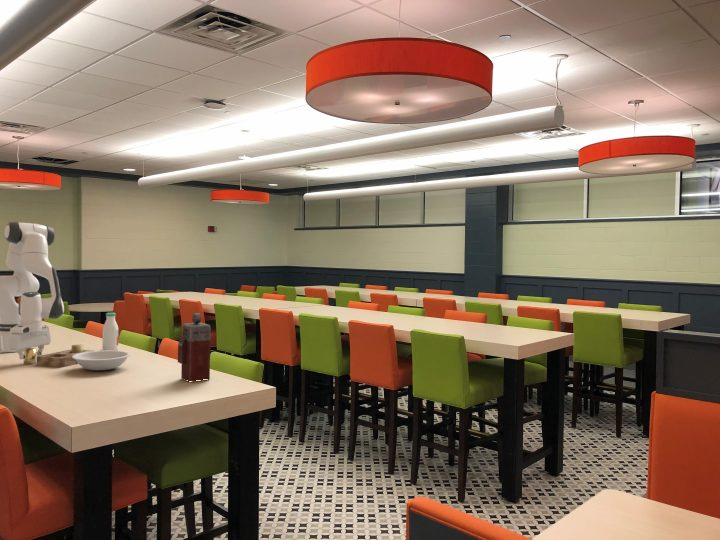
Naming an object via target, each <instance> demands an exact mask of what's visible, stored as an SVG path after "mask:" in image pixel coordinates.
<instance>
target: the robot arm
mask: <svg viewBox="0 0 720 540" xmlns="http://www.w3.org/2000/svg"><path fill="white" fill-rule="evenodd" d="M4 228H5V229H4V231H3V232H4V234H3V235H4V238H5V240H6V241H7V242H9V246H8V250H7V254H6V257H5V265H6V267H7V268H8V269H10V270H12V271H13V274H12V275H0V354H1V353H2V354H3V353H16V352H17V354H18V356H19V360H24V359H25V355H24V349H27V348H38V350H37V351H36V357H37V356H41V355H43V351H44V349H45V346H47V345H50V344H51V342H52V338H51V332H50V327H49V326H47V325H43V319H54V320H57V319H59V318H60V317H62V316H63V314H64V313H65V305H64V302H63V299H62V294H61V289H60V283H59V277H58V273H57V269H56V267H55V265H52V264H51V262H50V259H49V246H51V245H52V244H53V243H54V242H55V238H56V233H55V229H54V228H53V227H52V226H49V225H45V224H44V225H43V224H39V223H33V222H31V223H30V222H18V221H10V222H8V223H7V224H6V226H5V227H4ZM33 274H34V275H33ZM35 275H37V276H40V277H42V278H45V279H46V280H47V281H48V284H49V287H50V288H49V289H50V295H51V297H45V298H44V297H42V295H41V293H40V292H38V291H39V289H40V281H39V280H38V279H37V278H36V276H35ZM15 297H21V298H20V302H16V299H15Z"/></svg>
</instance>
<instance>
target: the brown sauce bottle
mask: <svg viewBox="0 0 720 540" xmlns="http://www.w3.org/2000/svg"><path fill="white" fill-rule="evenodd" d="M191 318H192V319H191V320H192V322H190V323H189V322H187V323H182V326H181V337H180V338H179V341H178V343H177V363H179V364H181V375H180V376H181V377H180V379H181V378H183V379H185V380H188V381H196V380H203V379H210V380H211V378H210V377H211V376H210V375H211V372H210V371H211V333H212V331H211V329H212V327H211V325H210V324H207V323H203V322H201V321H202V315H201V313H200V312H198V313H197V312H196V313H192V316H191ZM183 379H182V380H183ZM185 380H184V381H185Z"/></svg>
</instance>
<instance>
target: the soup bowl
mask: <svg viewBox="0 0 720 540" xmlns="http://www.w3.org/2000/svg"><path fill="white" fill-rule="evenodd" d="M131 355H132V354H131V352H129V351H124V350H116V351H115V350H105V351H103V350H92V351H90V352H83V353H78V354H75V355H73V356H72V358H73V359H75V360H76V361H77V362H78V365H79V366H80V367H82V368H83V369H84V370H85V369H86V370H90V371H108V370H112V369H113V370H114V369H116V368H119V367H120V366H121V365H122V364H124V363H125V362H126V360H127V359H128V357H129V358H130V356H131Z"/></svg>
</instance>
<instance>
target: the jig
mask: <svg viewBox="0 0 720 540" xmlns="http://www.w3.org/2000/svg"><path fill="white" fill-rule="evenodd" d="M90 351H93V350H90V349H89V350H88V349H84V345H83V344H72V345H71V349H65V350H62V351H61V350H60V351H56V352H52V353H46V354H42V355H40V356H37V355H36V366H43V367H54V368H65V367H69V366H73V365H77V364H78V362H77V361H76V360H75V359H73V358H72V356H73V355H75V354H78V353H83V352H90ZM78 365H79V364H78Z"/></svg>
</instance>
